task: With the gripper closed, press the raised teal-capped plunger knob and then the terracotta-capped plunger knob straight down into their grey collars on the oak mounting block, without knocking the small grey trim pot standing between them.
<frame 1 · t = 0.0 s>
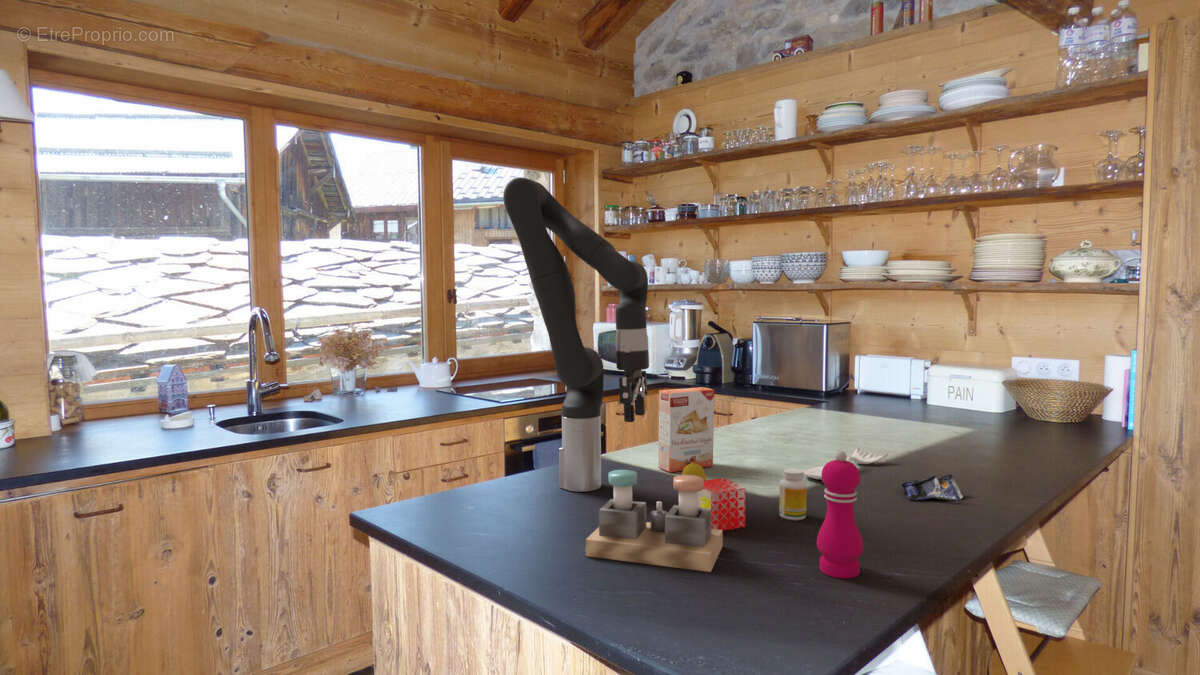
hand: (634, 418, 157), 17 cm above the counter, tool pointing down, fingers open, 8 cm apart
knob left: (622, 491, 122), point 10 cm above the counter, slide at 0.0 cm
lemon: (693, 497, 153), on the counter
trim pot: (659, 529, 124), point 3 cm above the counter, touching mount
knob right: (688, 497, 118), point 10 cm above the counter, slide at 0.0 cm
supplement bottle: (792, 517, 139), on the counter
pepper mill: (839, 572, 112), on the counter
red patterned cube box: (717, 525, 135), on the counter
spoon: (843, 472, 174), on the counter
mount: (655, 551, 121), on the counter
snack package: (928, 499, 152), on the counter
cracker box: (686, 468, 179), on the counter
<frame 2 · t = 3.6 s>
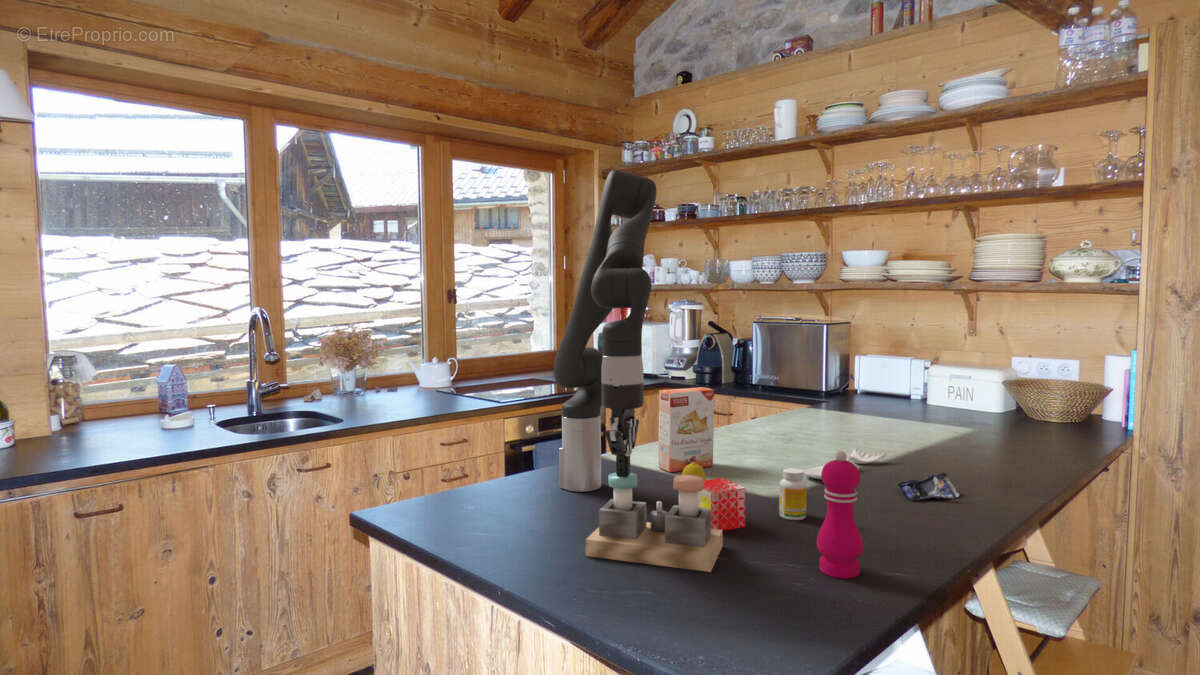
hand: (623, 475, 122), 13 cm above the counter, tool pointing down, fingers closed
knob left: (622, 493, 122), point 10 cm above the counter, slide at 0.5 cm, touching gripper
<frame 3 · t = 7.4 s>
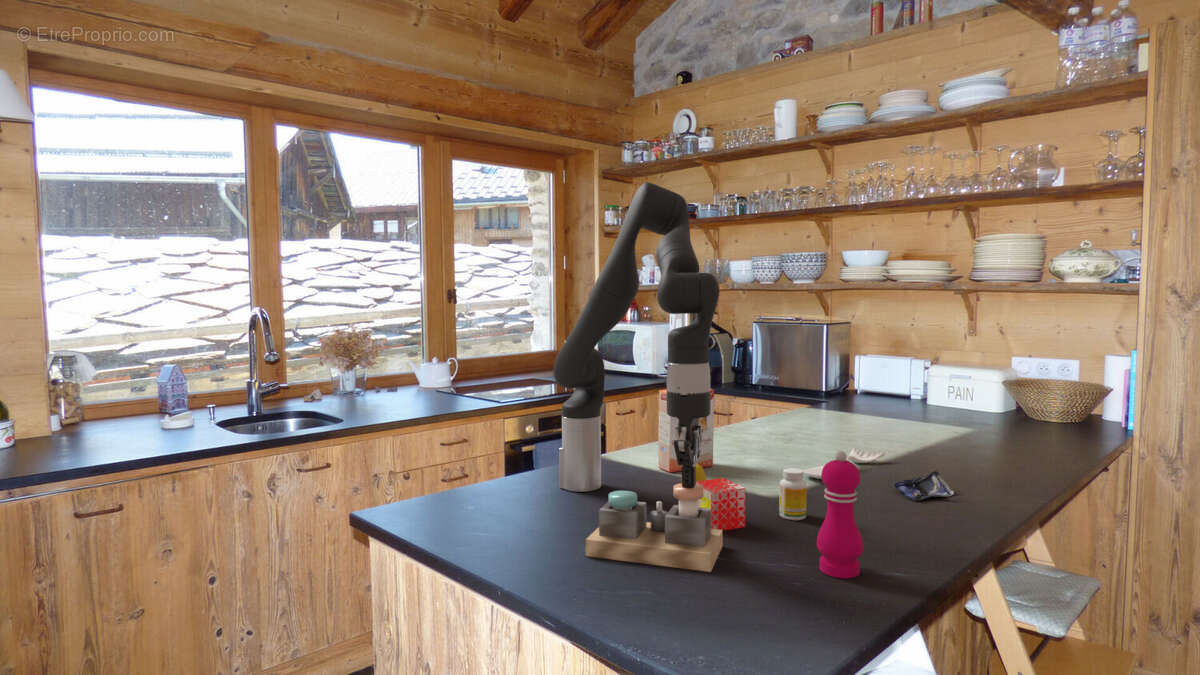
hand: (688, 486, 118), 12 cm above the counter, tool pointing down, fingers closed
knob left: (623, 512, 123), point 6 cm above the counter, slide at 3.9 cm
knob right: (688, 505, 118), point 9 cm above the counter, slide at 1.5 cm, touching gripper
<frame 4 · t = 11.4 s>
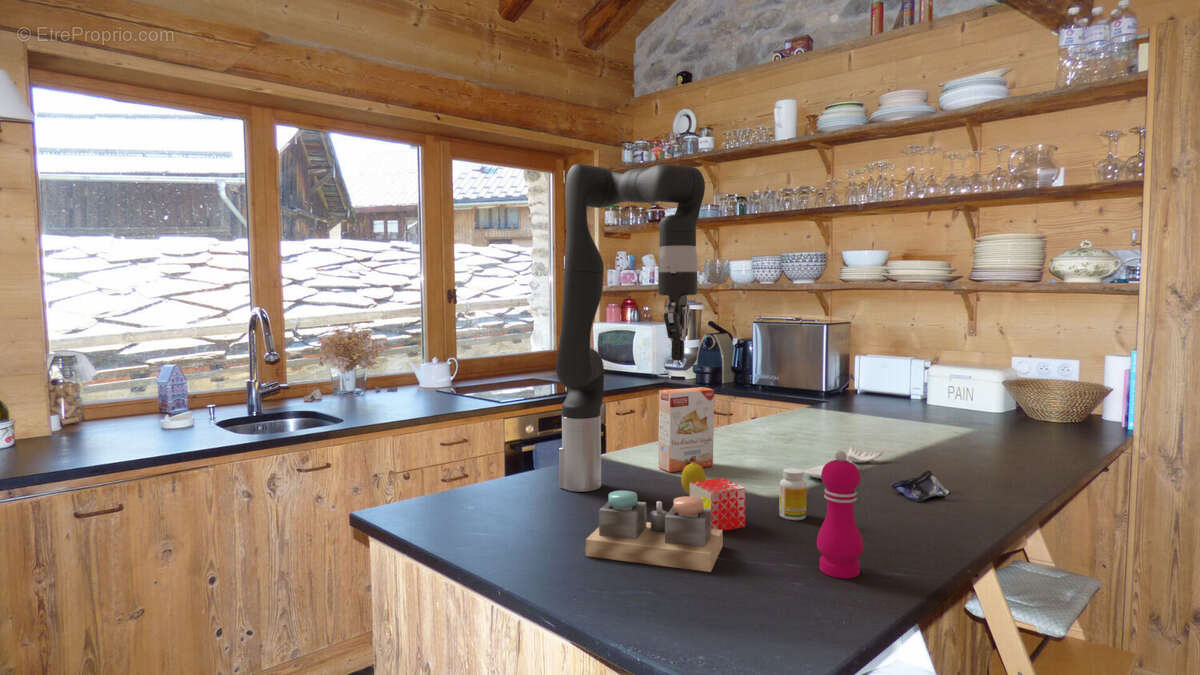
hand: (677, 359, 132), 33 cm above the counter, tool pointing down, fingers closed
knob right: (688, 519, 119), point 6 cm above the counter, slide at 3.9 cm
at the end: knob left slide at 3.9 cm; knob right slide at 3.9 cm; trim pot moved 0.1 cm from its start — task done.
